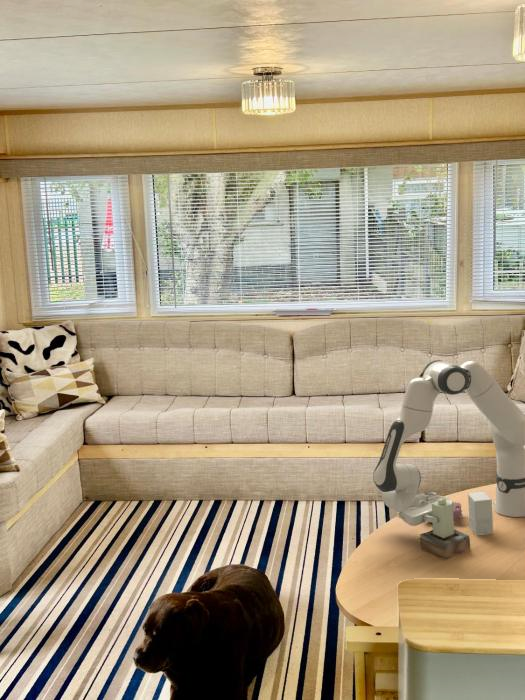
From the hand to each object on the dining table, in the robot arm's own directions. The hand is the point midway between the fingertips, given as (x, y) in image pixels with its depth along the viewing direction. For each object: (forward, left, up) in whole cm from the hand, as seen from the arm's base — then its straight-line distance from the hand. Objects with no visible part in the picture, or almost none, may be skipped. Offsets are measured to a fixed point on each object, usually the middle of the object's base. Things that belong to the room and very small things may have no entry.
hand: (444, 518), depth 262 cm
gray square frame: (0, -1, -12) cm, 12 cm away
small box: (-20, -3, -12) cm, 24 cm away
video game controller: (-21, -17, -12) cm, 29 cm away
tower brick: (0, -1, -6) cm, 6 cm away
